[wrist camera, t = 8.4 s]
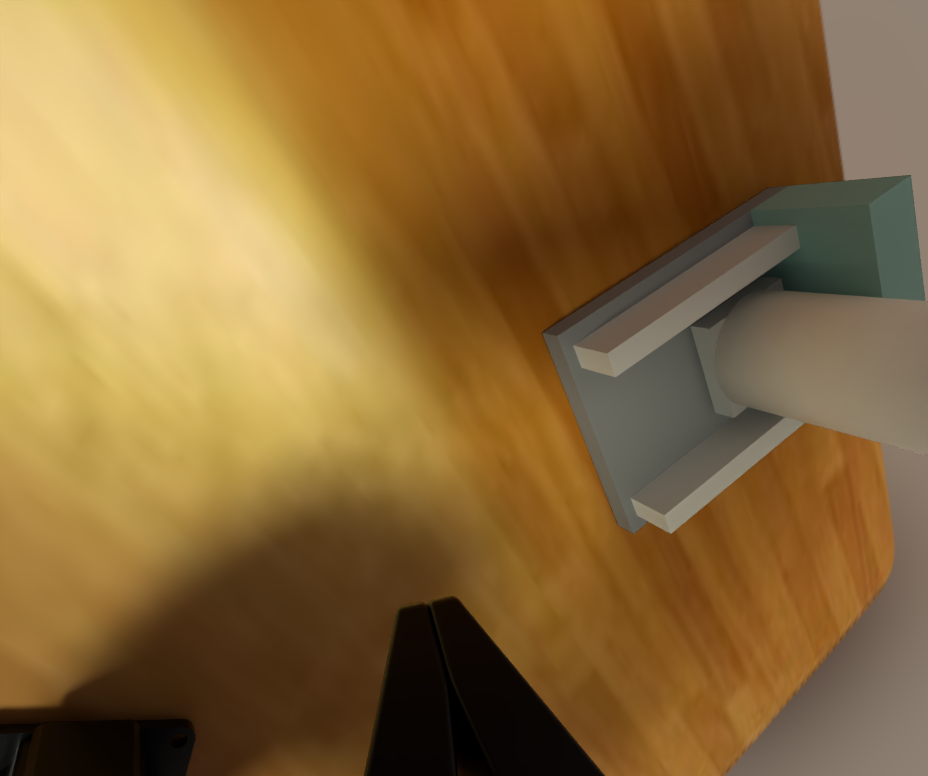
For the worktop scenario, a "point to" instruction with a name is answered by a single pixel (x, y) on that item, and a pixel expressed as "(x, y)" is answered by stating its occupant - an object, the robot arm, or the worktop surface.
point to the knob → (821, 361)
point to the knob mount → (674, 350)
